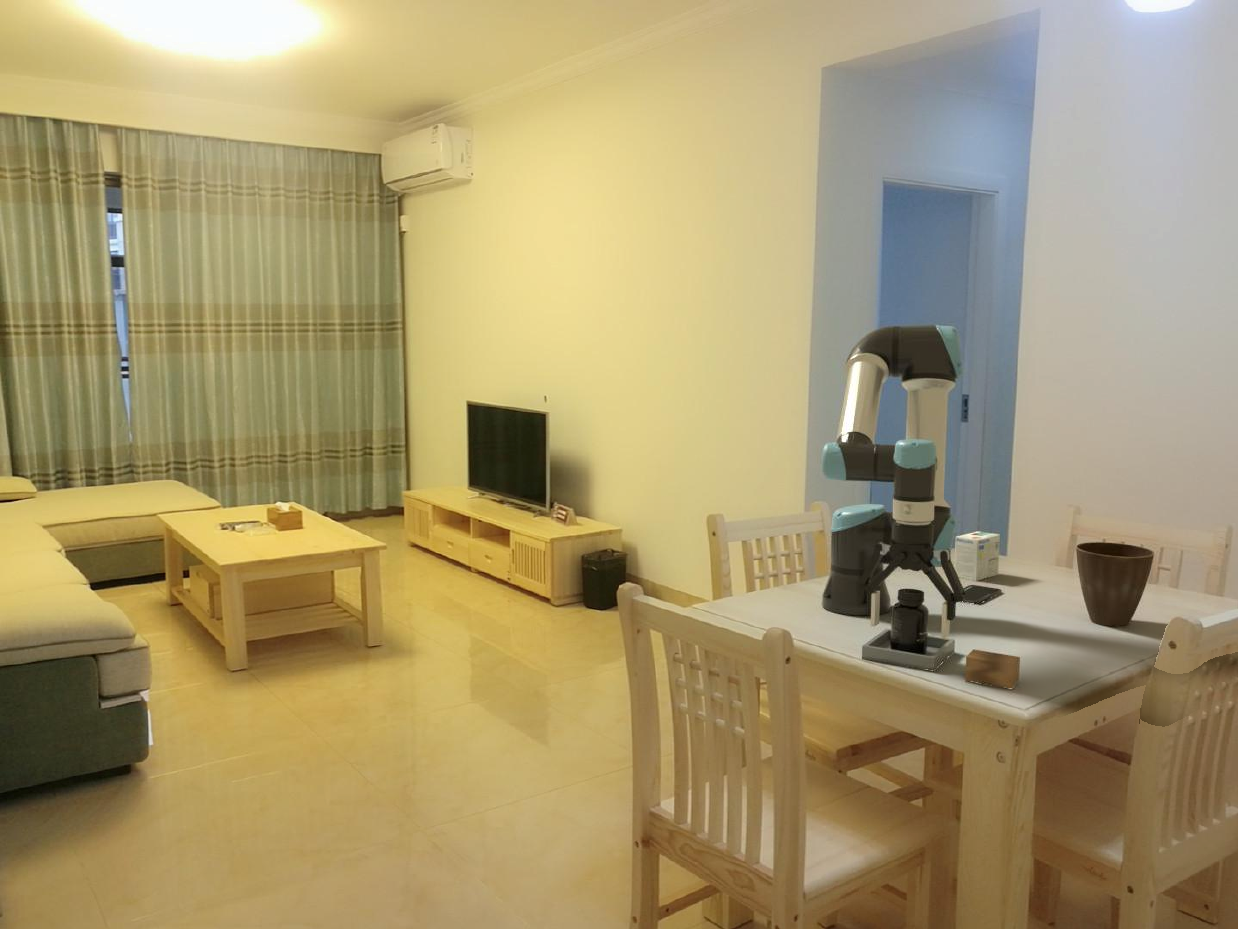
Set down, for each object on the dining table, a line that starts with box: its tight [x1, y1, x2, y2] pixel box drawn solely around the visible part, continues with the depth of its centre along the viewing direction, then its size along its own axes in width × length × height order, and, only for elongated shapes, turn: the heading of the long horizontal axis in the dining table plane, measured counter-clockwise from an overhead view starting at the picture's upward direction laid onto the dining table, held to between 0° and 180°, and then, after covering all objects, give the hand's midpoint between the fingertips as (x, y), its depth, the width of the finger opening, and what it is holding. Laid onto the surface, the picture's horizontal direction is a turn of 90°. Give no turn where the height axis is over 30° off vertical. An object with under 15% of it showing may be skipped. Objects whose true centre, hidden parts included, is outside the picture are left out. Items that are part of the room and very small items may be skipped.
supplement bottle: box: [890, 588, 930, 655], centre depth 190 cm, size 7×7×12 cm
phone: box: [962, 584, 1002, 605], centre depth 235 cm, size 8×1×15 cm
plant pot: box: [1075, 541, 1155, 628], centre depth 211 cm, size 15×15×16 cm
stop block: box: [964, 649, 1021, 689], centre depth 175 cm, size 8×5×4 cm, turn 56°
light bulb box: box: [954, 530, 1001, 582], centre depth 254 cm, size 11×7×11 cm, turn 130°
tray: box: [861, 628, 956, 672], centre depth 190 cm, size 14×14×2 cm
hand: (909, 630), depth 190 cm, fingers open, 13 cm apart
